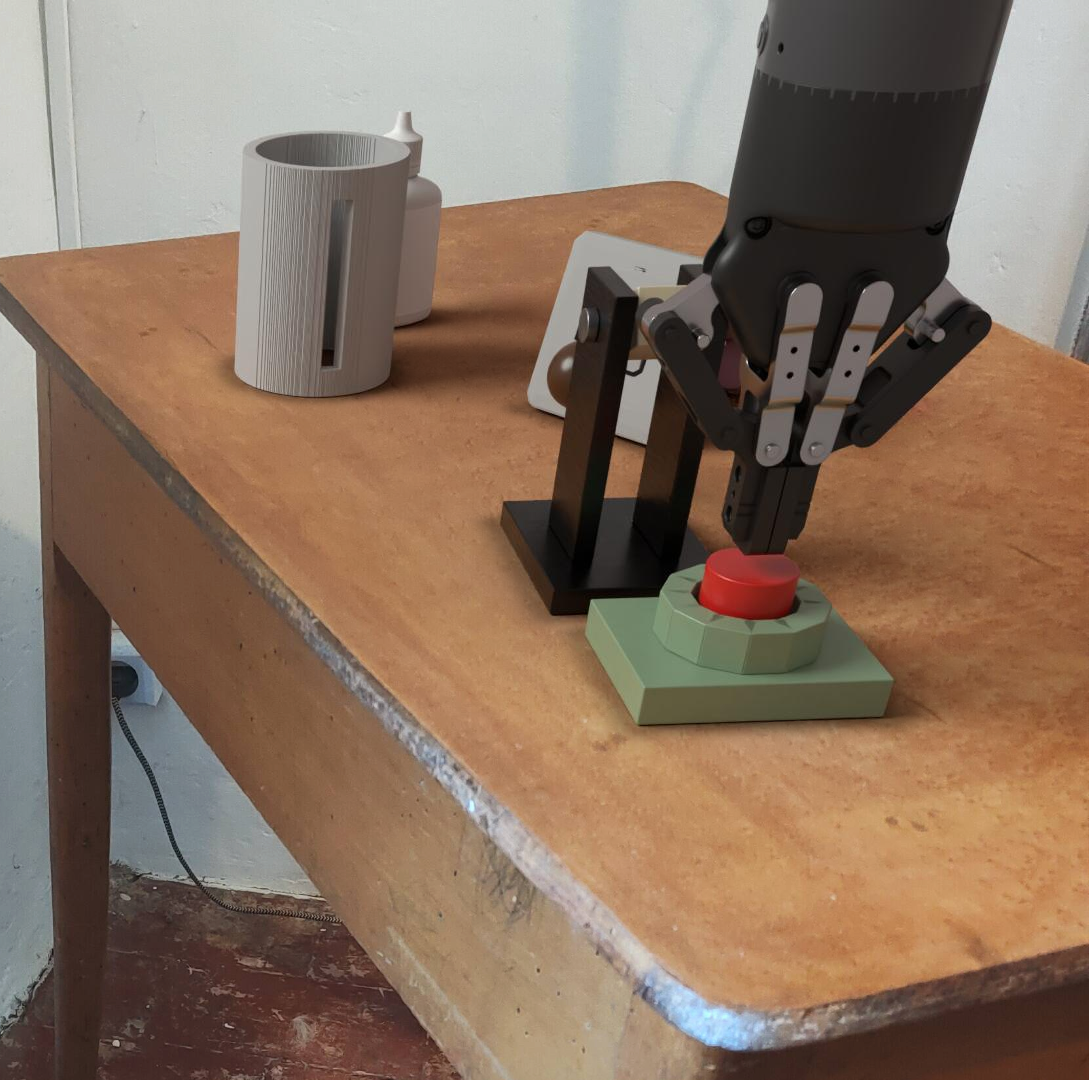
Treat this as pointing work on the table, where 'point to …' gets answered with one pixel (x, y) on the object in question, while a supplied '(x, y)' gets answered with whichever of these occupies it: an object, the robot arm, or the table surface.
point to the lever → (639, 350)
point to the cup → (319, 260)
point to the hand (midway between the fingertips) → (757, 547)
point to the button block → (733, 659)
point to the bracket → (583, 464)
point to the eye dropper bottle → (416, 231)
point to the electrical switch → (589, 250)
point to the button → (749, 585)
